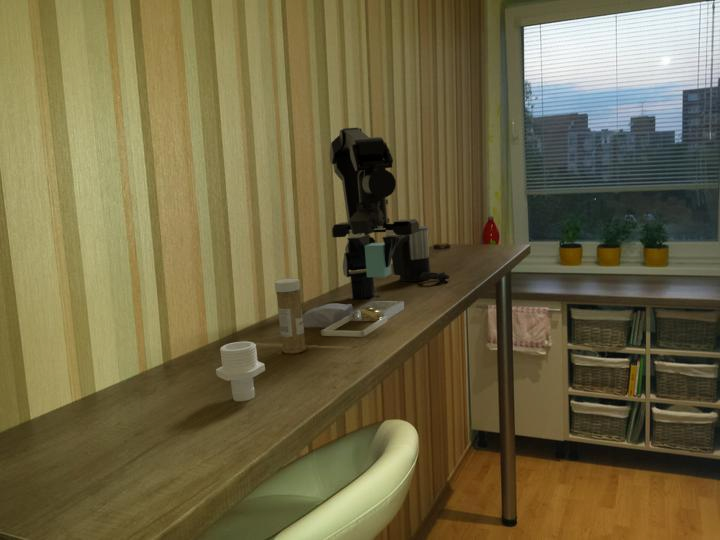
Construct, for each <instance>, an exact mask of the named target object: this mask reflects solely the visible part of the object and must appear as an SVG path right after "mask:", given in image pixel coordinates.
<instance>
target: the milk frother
mask: <svg viewBox="0 0 720 540" xmlns="http://www.w3.org/2000/svg"><path fill="white" fill-rule="evenodd" d="M428 230H429V226H419V232H416V233H413V234H409V235H404V236H402V237H400V238H399V240H398V242H397V245H396V247H395V250H394V253H393V256H392V259H391V263H392V269H393V270H392V271H393V274H394V275H395V276H399V281H402V282H413V281H415V282H421V281H427V280H428V281H429V280H437V281H444V282H446V280H448V279H450V275H449V274H446V273H445V272H444V271H443V272H431V264H430V249H429V247H430V246H429V232H428Z"/></svg>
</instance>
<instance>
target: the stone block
mask: <svg viewBox="0 0 720 540" xmlns="http://www.w3.org/2000/svg"><path fill="white" fill-rule="evenodd" d="M353 308H354V307H353V305H352V303H348V304H344V303H337V302H336V303H326V304H324V305H320V306H315V307H313V308H311V309H309V310H307V311H306V312H305V313H302V317H303V325H304V328H327V327H329V326H330V325H332V324H334V323H336V322H338V321H339V320H341V319H343V318H345V317H346V316H349V313H350V312H352V311H354V310H353Z"/></svg>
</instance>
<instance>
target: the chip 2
mask: <svg viewBox="0 0 720 540" xmlns="http://www.w3.org/2000/svg"><path fill="white" fill-rule="evenodd" d="M380 313H381V310H379V309H373V310H368V311H367V320H369V321H368V322H377V321H376V320H380V319H381V315H380Z"/></svg>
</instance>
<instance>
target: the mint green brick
mask: <svg viewBox="0 0 720 540" xmlns="http://www.w3.org/2000/svg"><path fill="white" fill-rule="evenodd" d="M365 258H366V269H365V270H366V271H367V277H373V278H386V277H388V276H390V275H392V261H391V262H390V266H389V267H386V264H385V244H384V242H375V243H371V244H368V245H366V246H365Z"/></svg>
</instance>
